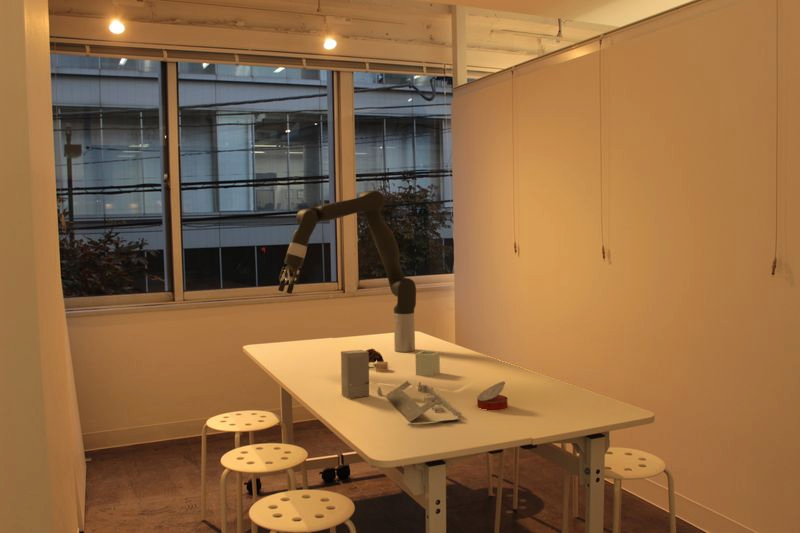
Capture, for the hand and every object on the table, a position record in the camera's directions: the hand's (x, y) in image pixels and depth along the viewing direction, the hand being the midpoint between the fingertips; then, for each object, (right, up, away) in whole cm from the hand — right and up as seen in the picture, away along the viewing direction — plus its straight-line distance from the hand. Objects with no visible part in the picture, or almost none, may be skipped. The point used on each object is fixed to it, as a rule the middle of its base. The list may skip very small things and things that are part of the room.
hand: (284, 292), depth 327 cm
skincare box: (+33, -35, -53) cm, 71 cm away
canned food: (+78, -35, -72) cm, 112 cm away
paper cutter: (+54, -36, -71) cm, 96 cm away
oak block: (+41, -31, -16) cm, 54 cm away
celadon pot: (+59, -32, -24) cm, 71 cm away
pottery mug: (+37, -31, -3) cm, 48 cm away
